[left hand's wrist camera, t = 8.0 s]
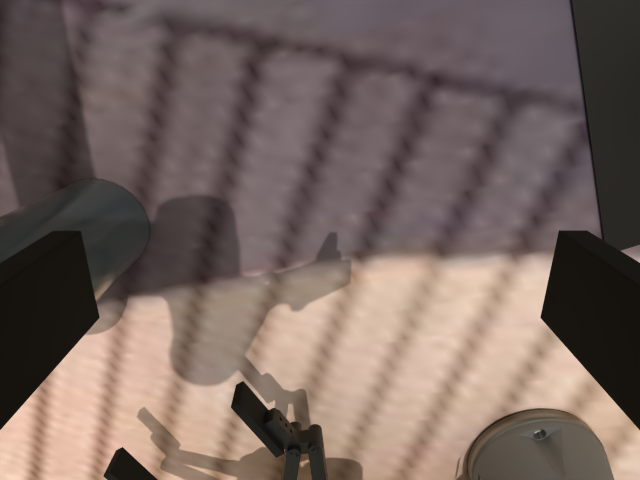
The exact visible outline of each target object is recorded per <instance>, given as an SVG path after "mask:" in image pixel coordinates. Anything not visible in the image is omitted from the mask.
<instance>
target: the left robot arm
mask: <svg viewBox="0 0 640 480" xmlns="http://www.w3.org/2000/svg"><path fill="white" fill-rule="evenodd" d="M98 319H99V313H98V309H97V304H96V299H95V294H94V290H93V285H92V280H91V276H90V271H89V266H88V262H87V257H86V252H85V247H84V243H83V238H82V233H81V231H52V232H50V233H48V234H47V235H45V236H44V237H42V238H40V239H39V240H37V241H35V242H34V243H32V244H30V245H29V246H27V247H25V248H24V249H22V250H21V251H19V252H17V253H16V254H14V255H12V256H11V257H9V258H7V259H6V260H4V261H3V262H1V263H0V430H1V429H2V427H3V426H4V425H5V424H6V423H7V422H8V421H9V419H10V418H11V417H12V416H13V415H14V414H15V413H16V412H17V410H18V409H19V408H20V407H21V406H22V405H23V404H24V402H25V401H26V400H27V399H28V398H29V397H30V396H31V395H32V393H33V392H34V391H35V390H36V389H37V388H38V387H39V386H40V384H41V383H42V382H43V381H44V380H45V379H46V378H47V376H48V375H49V374H50V373H51V372H52V371H53V370H54V369H55V367H56V366H57V365H58V364H59V363H60V362H61V361H62V359H63V358H64V357H65V356H66V355H67V354H68V353H69V352H70V350H71V349H72V348H73V347H74V346H75V345H76V344H77V343H78V341H79V340H80V339H81V338H82V337H83V336H84V335H85V333H86V332H87V331H88V330H89V329H90V328H91V327H92V326H93V324H94V323H95V322H96V321H97V320H98ZM541 319H542V320H543V321H544V322H545V323H546V324H547V326H548V327H549V328H550V329H551V330H552V331H553V332H554V333H555V335H556V336H557V337H558V338H559V339H560V340H561V341H562V343H563V344H564V345H565V346H566V347H567V348H568V349H569V350H570V352H571V353H572V354H573V355H574V356H575V357H576V358H577V359H578V361H579V362H580V363H581V364H582V365H583V366H584V367H585V369H586V370H587V371H588V372H589V373H590V374H591V375H592V376H593V378H594V379H595V380H596V381H597V382H598V383H599V384H600V386H601V387H602V388H603V389H604V390H605V391H606V392H607V393H608V395H609V396H610V397H611V398H612V399H613V400H614V401H615V402H616V404H617V405H618V406H619V407H620V408H621V409H622V410H623V412H624V413H625V414H626V415H627V416H628V417H629V418H630V419H631V421H632V422H633V423H634V424H635V425H636V426H637V427H638V429H639V430H640V263H639V262H637V261H636V260H634V259H633V258H631V257H629V256H628V255H626V254H624V253H623V252H621V251H619V250H618V249H616V248H615V247H613V246H611V245H610V244H608V243H606V242H605V241H603V240H601V239H600V238H598V237H596V236H595V235H593V234H592V233H590V232H588V231H559V233H558V238H557V243H556V247H555V252H554V257H553V262H552V266H551V271H550V276H549V280H548V285H547V290H546V294H545V299H544V304H543V309H542V313H541Z"/></svg>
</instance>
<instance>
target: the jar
mask: <svg viewBox="0 0 640 480" xmlns="http://www.w3.org/2000/svg"><path fill="white" fill-rule="evenodd" d="M52 231H81V233H82V238H83V243H84V247H85V252H86V257H87V262H88V266H89V271H90V276H91V280H92V285H93V290H94V294H95V299H96V302H97V301H98V300H99V299H100V298H101V297H102V296H103V295H104V294H105V293H106V291H107V290H108V289H109V288H110V287H111V286H112V285H113V284H114V283H115V282H116V281H117V280H118V279H119V278H120V277H121V276H122V275H123V274H124V273H125V272H126V271H127V270H128V268H129V267H130V266H131V265H132V264H133V263H134V262H135V261H136V260H137V259H138V258H139V257H140V256H141V255H142V253H143V252H144V250H145V249H146V247H147V244H148V241H149V234H150V229H149V222H148V218H147V215H146V213H145V211H144V209H143V207H142V206H141V204H140V203H139V202H138V200H137V199H136V198H135V197H134V196H133V195H132V194H131V193H130V192H128V191H127V190H126V189H124V188H123V187H121V186H119V185H117V184H115V183H112V182H110V181H106V180H102V179H84V180H80V181H77V182H74V183H72V184H70V185H68V186H66V187H64V188H61V189H59V190H57V191H55V192H53V193H51V194H49V195H46V196H44V197H42V198H40V199H38V200H36V201H34V202H31V203H29V204H27V205H25V206H23V207H21V208H18V209H16V210H14V211H12V212H10V213H8V214H6V215H3V216H1V217H0V263H1V262H3V261H4V260H6V259H7V258H9V257H11V256H12V255H14V254H16V253H17V252H19V251H21V250H22V249H24V248H25V247H27V246H29V245H30V244H32V243H34V242H35V241H37V240H39V239H40V238H42V237H44V236H45V235H47V234H48V233H50V232H52Z"/></svg>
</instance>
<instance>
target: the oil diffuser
mask: <svg viewBox="0 0 640 480" xmlns="http://www.w3.org/2000/svg"><path fill="white" fill-rule="evenodd" d="M572 4H573V12H574V19H575V26H576V34H577V41H578V49H579V56H580V64H581V71H582V79H583V86H584V93H585V101H586V108H587V116H588V123H589V131H590V138H591V146H592V153H593V160H594V168H595V175H596V183H597V190H598V198H599V205H600V213H601V220H602V227H603V235H604V241H605V242H606V243H608V244H610V245H611V246H613V247H615V248H616V249H618V250H619V251H620V250H623V249H627V248H630V247H633V246H637V245H640V0H572Z"/></svg>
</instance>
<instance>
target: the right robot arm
mask: <svg viewBox="0 0 640 480" xmlns="http://www.w3.org/2000/svg"><path fill="white" fill-rule="evenodd" d="M231 408H232V409H233V410H234V411H235V412H236V414H237V415H238V416H239V417H240V418H241V419H242V420H243V421H244V422H245V423H246V425H247V426H248V427H249V428H250V429H251V430H252V431H253V432H254V433H255V435H256V436H257V437H258V438H259V439H260V440H261V441H262V442H263V443H264V444H265V446H266V447H267V448H268V449H269V450H270V451H271V452H272V453H273V454H274V455H275V457H276V458H277V457H279V456H281V455H283V454H284V449H285V455H284V462H283V469H282V475H281V480H297V474H298V468H299V462H300V456H301V454H305V453H309V460H310V467H311V474H312V480H328V476H327V468H326V460H325V452H324V444H323V437H322V429H321V427H320V426H319V425H317V424H313V425H311V426H310V427H309V429H308V430H304V431H301V425H300V423H298V422H291V423H289V421H288V420H287V419H286V418H285V417H284V416H283V414H282V413H281V412H280V411H279V410H277V409H276V408H272V409H271V410H268V409H267V408H266V407H265V406H264V404H263V403H262V402H261V401H260V400H259V399H258V398H257V396H256V395H255V394H254V393H253V392H252V391H251V389H250V388H249V387H248V386H247V385H246V384H245V383H244V381H243V382H241V383H239V384H237V385H236V388H235V392H234V397H233V401H232V405H231ZM467 469H468V475H469V478H470V480H614V478H613V474H612V471H611V468H610V465H609V462H608V459H607V455H606V452H605V450H604V447H603V445H602V443H601V442H600V440H599V439H598V438H597V436H596V435H595V434H594V432H593V431H592V430H591V428H590V427H589V426H588V425H587V424H586V423H585V422H584V421H582V420H581V419H579V418H578V417H576V416H574V415H571V414H569V413H566V412H562V411H557V410H547V409H541V410H530V411H525V412H521V413H517V414H514V415H511V416H509V417H506V418H504V419H502V420H500V421H498V422H497V423H495V424H494V425H492V426H491V427H489V428H488V429H487V430H486V431H485V432H484V433H483V434H482V435H481V436H480V437H479V438H478V439H477V441H476V442H475V443H474V445H473V447H472V449H471V451H470V454H469V457H468V463H467ZM104 477H105V478H106V479H107V480H157V479H156V478H155V477H154V476H153V475H152V474H151V473H150V472H149V471H148V470H146V469H145V468H144V467H143V466H142V465H141V464H140V463H139V462H138V461H137V460H136V459H135V458H134V457H132V456H131V455H130V454H129V453H128V452H127V451H126V450H125V449H124V448H123V447H122V448H120V449H118V450H116V452H115V454H114V456H113V458H112V460H111V462H110V464H109V466H108V468H107V470H106V472H105V474H104Z"/></svg>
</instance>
